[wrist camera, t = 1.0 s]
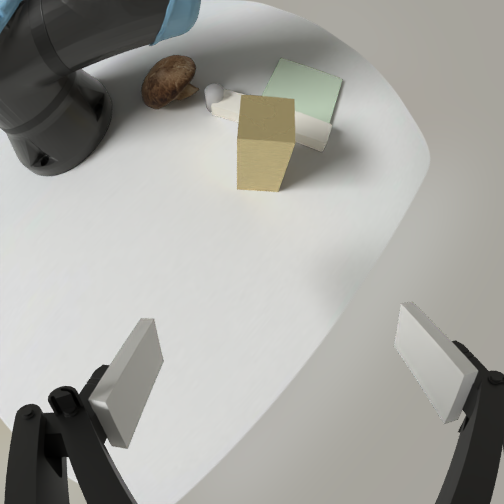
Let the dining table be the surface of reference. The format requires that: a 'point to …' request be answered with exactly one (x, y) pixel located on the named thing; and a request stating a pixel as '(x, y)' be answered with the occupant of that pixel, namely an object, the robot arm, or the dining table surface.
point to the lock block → (264, 141)
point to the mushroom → (169, 81)
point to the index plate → (305, 88)
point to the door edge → (306, 126)
